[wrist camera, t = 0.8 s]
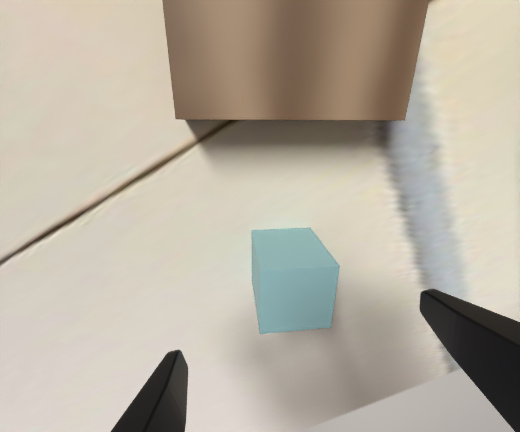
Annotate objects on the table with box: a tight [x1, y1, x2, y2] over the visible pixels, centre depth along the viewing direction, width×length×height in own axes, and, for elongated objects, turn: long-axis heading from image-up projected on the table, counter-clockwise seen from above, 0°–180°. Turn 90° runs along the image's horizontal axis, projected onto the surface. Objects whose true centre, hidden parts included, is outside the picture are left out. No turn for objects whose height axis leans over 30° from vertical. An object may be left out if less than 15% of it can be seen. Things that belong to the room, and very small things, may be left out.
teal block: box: [252, 228, 340, 334], centre depth 19 cm, size 5×5×6 cm
